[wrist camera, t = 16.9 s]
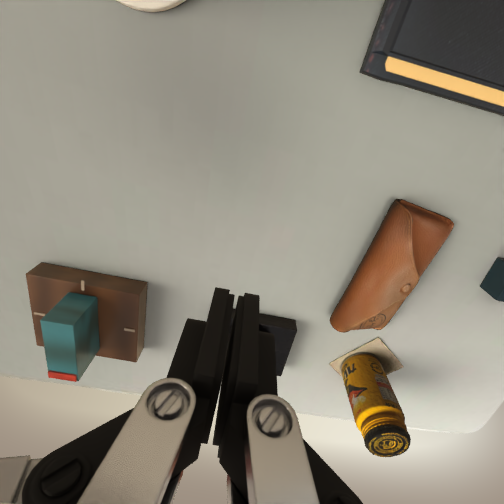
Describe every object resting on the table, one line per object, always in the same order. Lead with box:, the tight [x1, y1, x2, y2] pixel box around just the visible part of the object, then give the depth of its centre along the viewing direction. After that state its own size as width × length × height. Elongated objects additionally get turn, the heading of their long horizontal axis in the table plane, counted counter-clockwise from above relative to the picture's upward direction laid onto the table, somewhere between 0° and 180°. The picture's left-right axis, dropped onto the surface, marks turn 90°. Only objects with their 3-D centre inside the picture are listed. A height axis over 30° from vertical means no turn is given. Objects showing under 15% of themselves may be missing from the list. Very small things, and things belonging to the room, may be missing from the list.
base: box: [26, 263, 147, 362], centre depth 42 cm, size 14×13×3 cm
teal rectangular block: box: [40, 292, 100, 382], centre depth 38 cm, size 9×4×6 cm, turn 169°
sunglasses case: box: [330, 199, 454, 332], centre depth 37 cm, size 18×7×7 cm
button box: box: [226, 309, 297, 376], centre depth 43 cm, size 12×9×4 cm
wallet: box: [360, 0, 504, 116], centre depth 26 cm, size 20×2×15 cm
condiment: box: [329, 337, 411, 457], centre depth 41 cm, size 7×8×12 cm
